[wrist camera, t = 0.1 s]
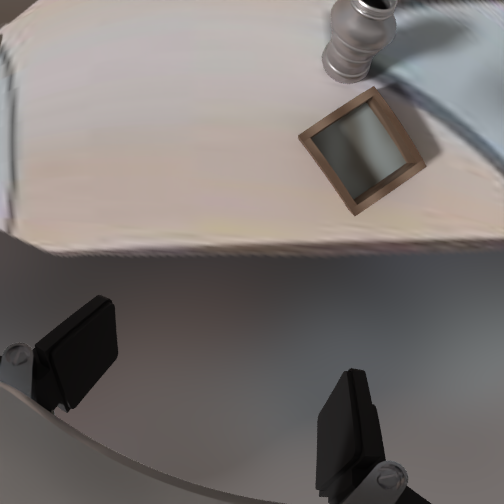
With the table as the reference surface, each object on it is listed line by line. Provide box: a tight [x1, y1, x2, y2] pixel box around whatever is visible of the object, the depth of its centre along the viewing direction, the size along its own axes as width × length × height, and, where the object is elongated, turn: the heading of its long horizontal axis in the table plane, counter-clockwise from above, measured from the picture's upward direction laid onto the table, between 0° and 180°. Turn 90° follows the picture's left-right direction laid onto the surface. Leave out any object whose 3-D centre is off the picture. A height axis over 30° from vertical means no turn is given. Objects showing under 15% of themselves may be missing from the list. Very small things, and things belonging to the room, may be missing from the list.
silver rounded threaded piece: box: [322, 0, 397, 84], centre depth 22 cm, size 6×7×20 cm
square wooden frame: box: [298, 86, 426, 216], centre depth 32 cm, size 12×12×4 cm
